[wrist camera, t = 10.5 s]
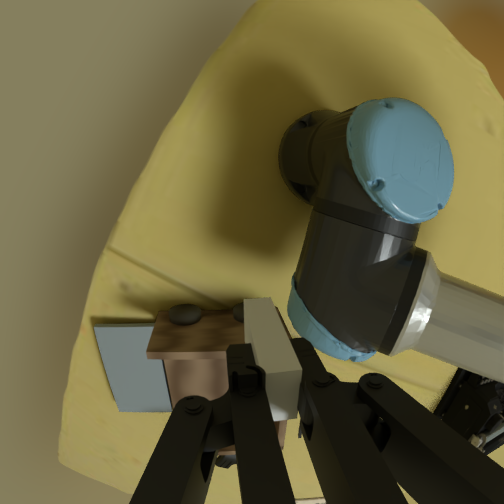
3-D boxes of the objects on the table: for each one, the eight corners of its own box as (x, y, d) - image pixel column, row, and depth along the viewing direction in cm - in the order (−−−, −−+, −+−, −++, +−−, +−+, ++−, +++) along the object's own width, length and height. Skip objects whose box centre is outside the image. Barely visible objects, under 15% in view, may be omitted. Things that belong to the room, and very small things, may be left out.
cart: (277, 300, 49) (296, 338, 37) (270, 410, 56) (282, 453, 44) (158, 304, 46) (144, 344, 35) (176, 414, 53) (173, 458, 42)
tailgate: (156, 326, 45) (93, 327, 43) (172, 411, 50) (119, 411, 48) (157, 320, 47) (96, 321, 45) (172, 405, 52) (120, 405, 50)
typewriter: (514, 337, 66) (559, 370, 42) (481, 400, 73) (517, 437, 49) (468, 345, 61) (525, 393, 37) (429, 418, 68) (469, 469, 44)
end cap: (264, 439, 58) (269, 460, 52) (249, 454, 60) (253, 475, 53) (226, 429, 56) (228, 452, 50) (212, 445, 57) (213, 467, 51)
